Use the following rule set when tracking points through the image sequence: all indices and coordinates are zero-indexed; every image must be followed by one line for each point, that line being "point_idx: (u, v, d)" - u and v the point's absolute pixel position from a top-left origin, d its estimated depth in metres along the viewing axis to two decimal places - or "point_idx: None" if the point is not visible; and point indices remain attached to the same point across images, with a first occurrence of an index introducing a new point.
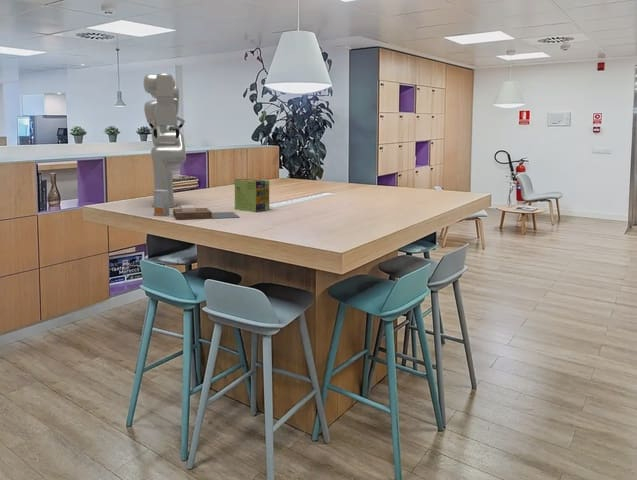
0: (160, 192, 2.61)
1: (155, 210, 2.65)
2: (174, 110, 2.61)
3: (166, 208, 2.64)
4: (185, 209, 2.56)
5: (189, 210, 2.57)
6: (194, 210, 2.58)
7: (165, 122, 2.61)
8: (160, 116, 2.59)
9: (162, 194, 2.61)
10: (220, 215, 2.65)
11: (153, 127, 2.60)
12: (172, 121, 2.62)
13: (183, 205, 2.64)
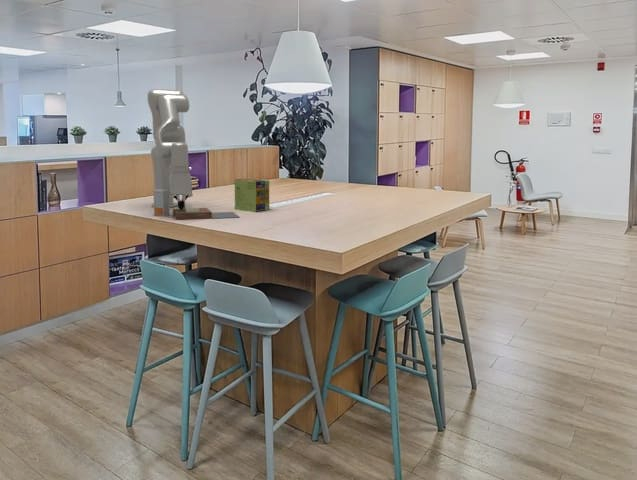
0: (160, 192, 2.61)
1: (155, 210, 2.65)
2: (189, 179, 2.56)
3: (166, 208, 2.64)
4: (189, 209, 2.57)
5: (193, 210, 2.58)
6: (198, 210, 2.58)
7: (180, 192, 2.56)
8: (175, 186, 2.55)
9: (162, 194, 2.61)
10: (220, 215, 2.65)
11: (177, 200, 2.57)
12: (187, 190, 2.57)
13: (187, 205, 2.64)
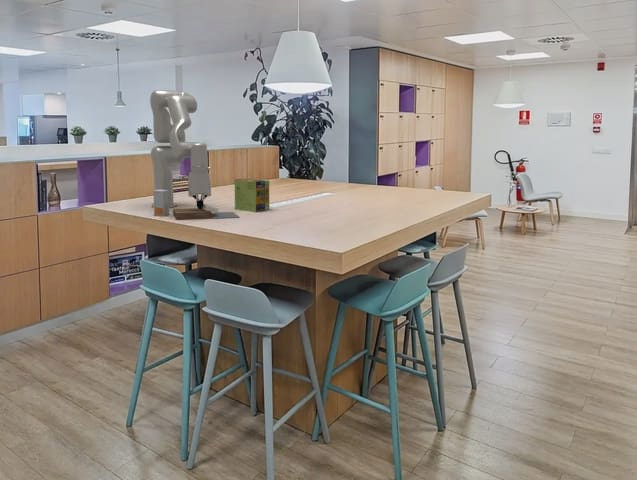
0: (160, 192, 2.61)
1: (155, 210, 2.65)
2: (208, 179, 2.60)
3: (166, 208, 2.64)
4: (208, 208, 2.60)
5: (212, 210, 2.60)
6: (216, 211, 2.61)
7: (199, 191, 2.59)
8: (194, 185, 2.58)
9: (162, 194, 2.61)
10: (220, 215, 2.65)
11: (196, 199, 2.60)
12: (206, 190, 2.60)
13: (206, 204, 2.67)
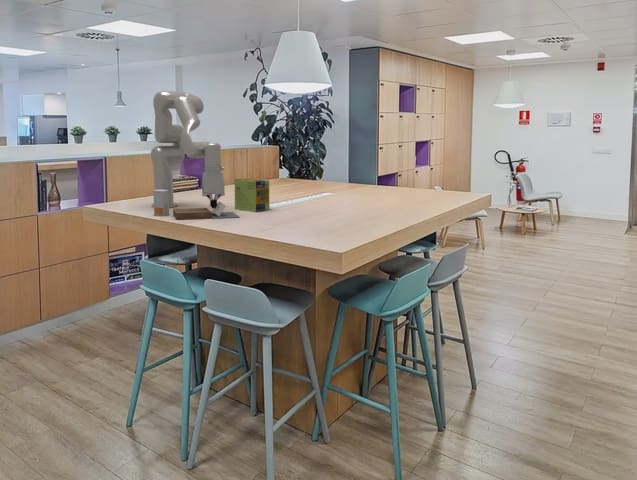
0: (160, 192, 2.61)
1: (155, 210, 2.65)
2: (222, 179, 2.62)
3: (166, 208, 2.64)
4: (223, 207, 2.62)
5: (220, 210, 2.62)
6: (217, 214, 2.62)
7: (213, 191, 2.62)
8: (208, 185, 2.60)
9: (162, 194, 2.61)
10: (220, 215, 2.65)
11: (210, 199, 2.63)
12: (219, 189, 2.62)
13: None
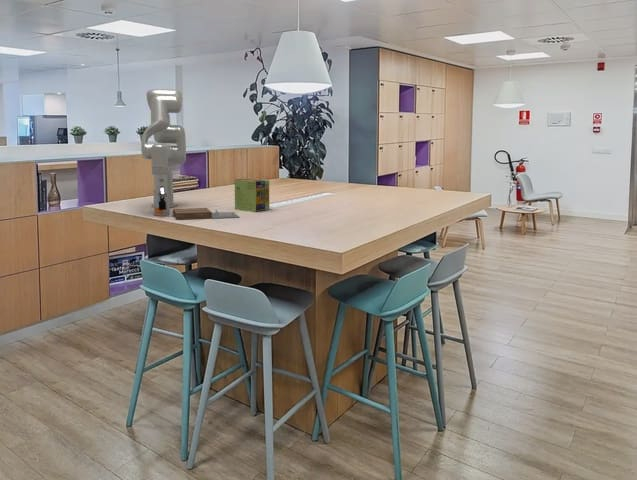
0: None
1: (155, 210, 2.65)
2: (156, 181, 2.59)
3: (166, 208, 2.64)
4: (228, 214, 2.64)
5: (225, 213, 2.63)
6: (220, 213, 2.62)
7: (156, 192, 2.64)
8: None
9: None
10: None
11: None
12: (156, 191, 2.61)
13: None
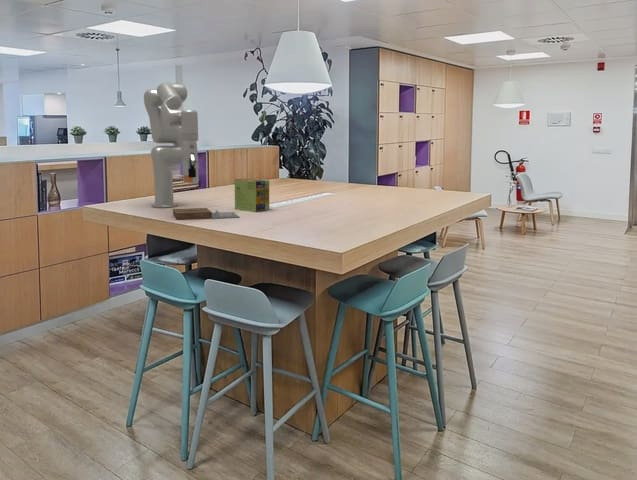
0: None
1: (184, 178, 2.58)
2: (186, 147, 2.52)
3: None
4: (228, 214, 2.64)
5: (225, 213, 2.63)
6: (220, 213, 2.62)
7: None
8: (184, 153, 2.58)
9: None
10: None
11: None
12: (186, 158, 2.54)
13: None
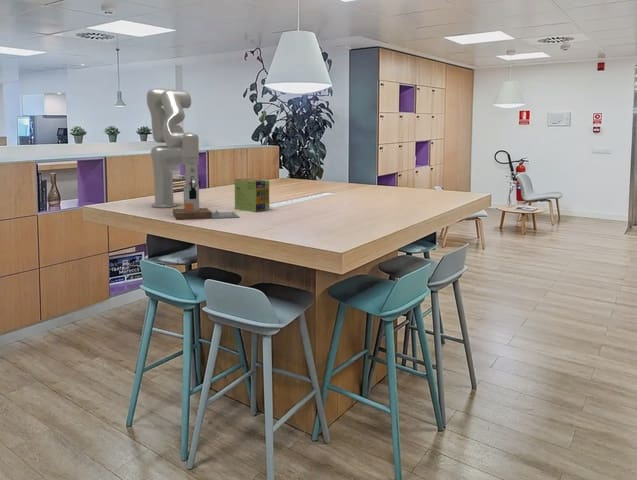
0: None
1: (185, 205, 2.60)
2: (187, 171, 2.54)
3: (196, 203, 2.60)
4: (228, 214, 2.64)
5: (225, 213, 2.63)
6: (220, 213, 2.62)
7: (186, 182, 2.60)
8: None
9: None
10: None
11: None
12: (187, 181, 2.57)
13: None
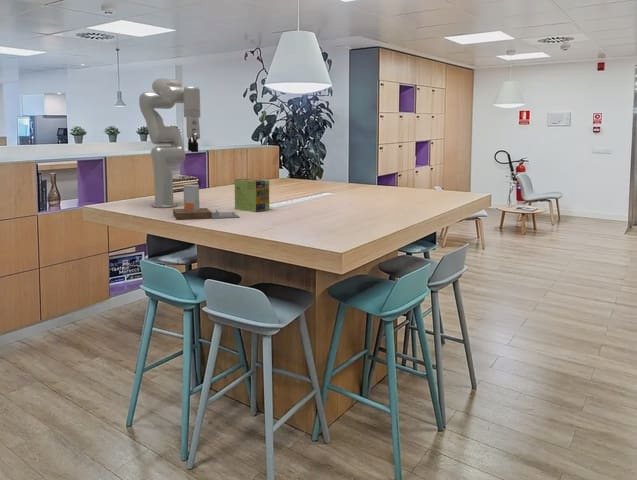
0: (191, 187, 2.57)
1: (185, 205, 2.60)
2: (188, 123, 2.55)
3: (196, 203, 2.60)
4: (228, 214, 2.64)
5: (225, 213, 2.63)
6: (220, 213, 2.62)
7: (188, 135, 2.60)
8: None
9: (193, 189, 2.57)
10: None
11: None
12: (188, 134, 2.57)
13: None
